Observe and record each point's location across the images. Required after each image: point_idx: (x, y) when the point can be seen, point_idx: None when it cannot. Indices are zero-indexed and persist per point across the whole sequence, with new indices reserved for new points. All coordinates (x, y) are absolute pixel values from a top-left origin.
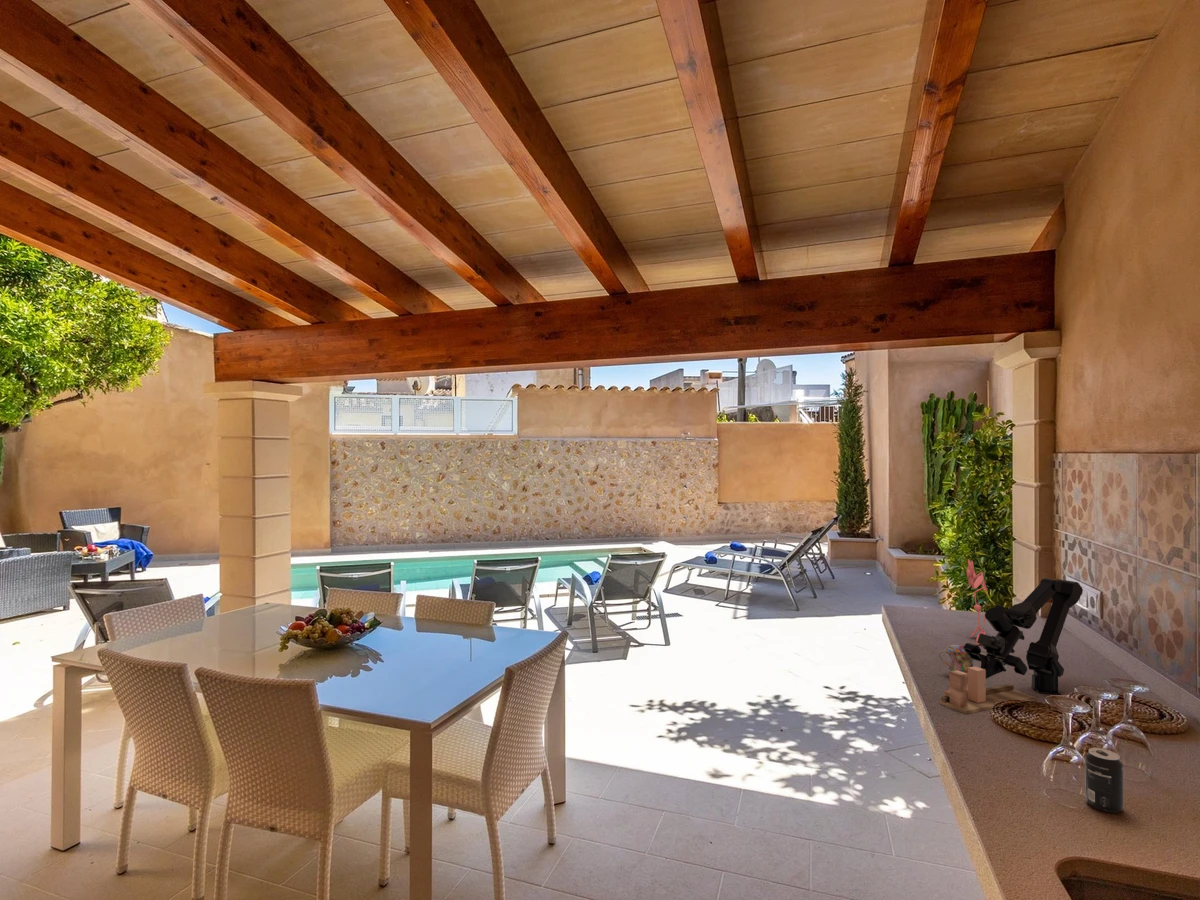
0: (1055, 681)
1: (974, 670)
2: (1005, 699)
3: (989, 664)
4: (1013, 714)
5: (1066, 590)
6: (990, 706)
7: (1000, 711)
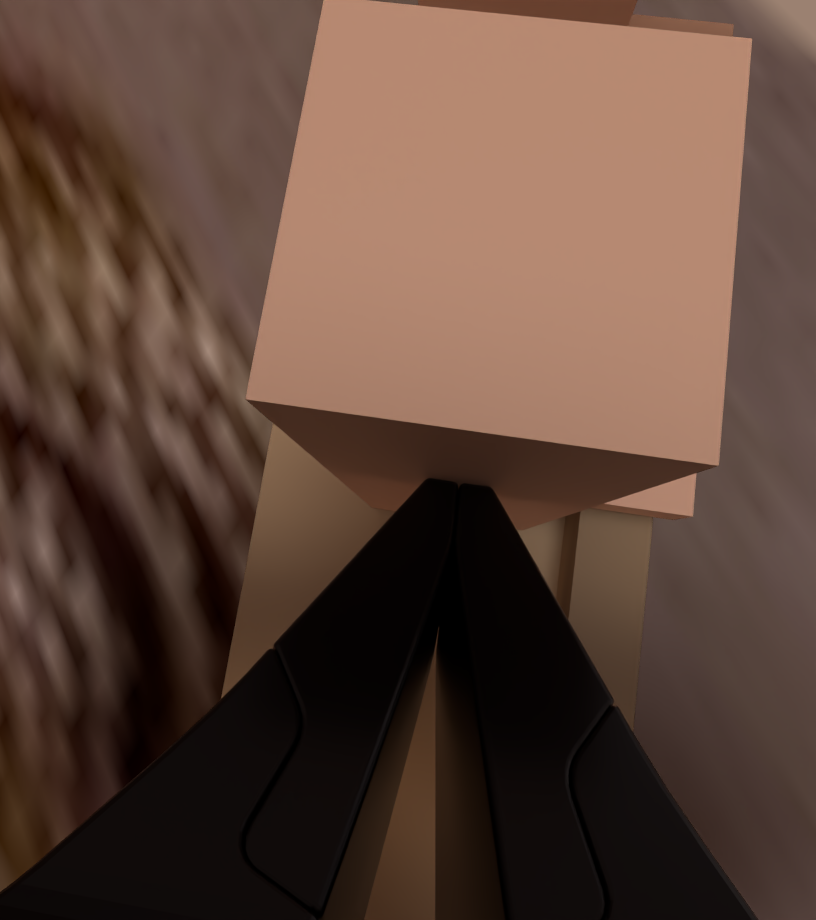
0: None
1: (460, 28)
2: None
3: (234, 902)
4: (57, 514)
5: None
6: (273, 430)
7: (186, 476)
